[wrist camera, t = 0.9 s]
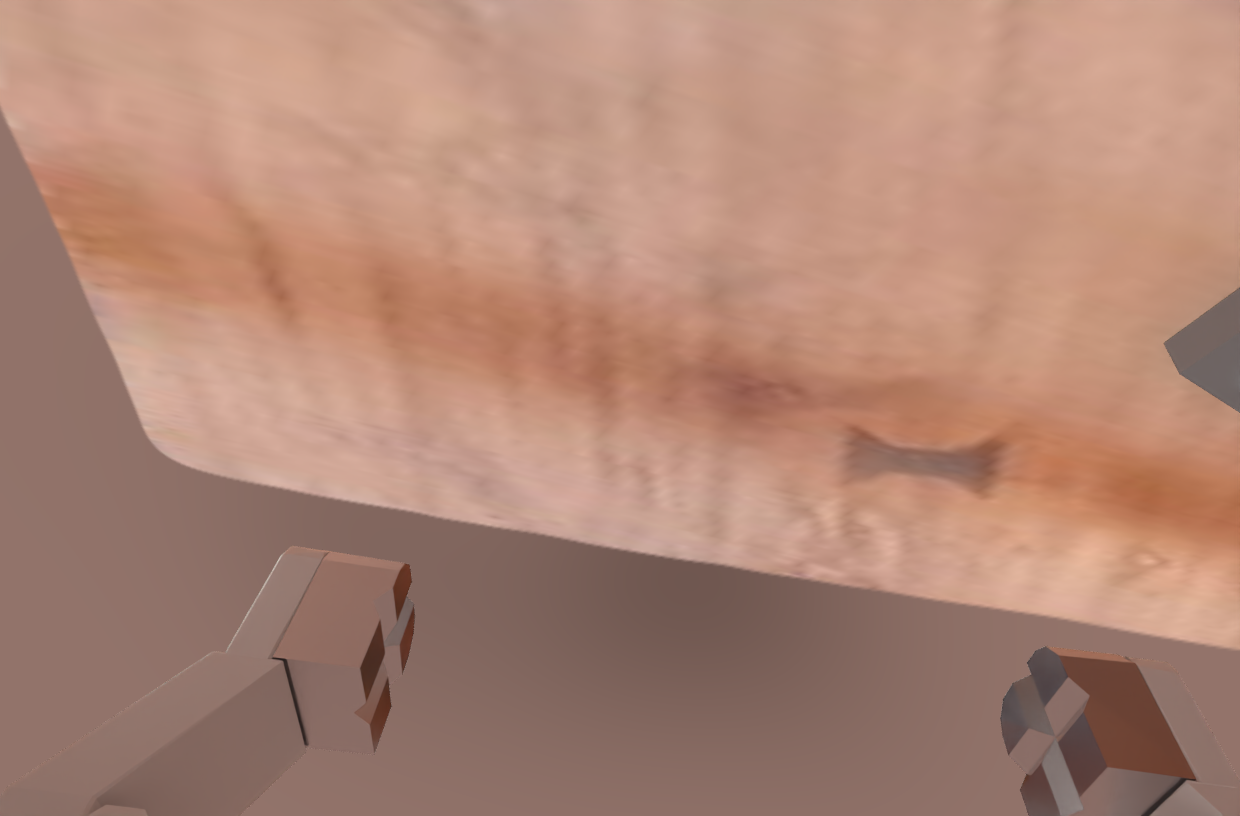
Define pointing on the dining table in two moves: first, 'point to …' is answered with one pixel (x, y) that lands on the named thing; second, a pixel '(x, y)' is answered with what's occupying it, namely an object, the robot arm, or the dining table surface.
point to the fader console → (1212, 351)
